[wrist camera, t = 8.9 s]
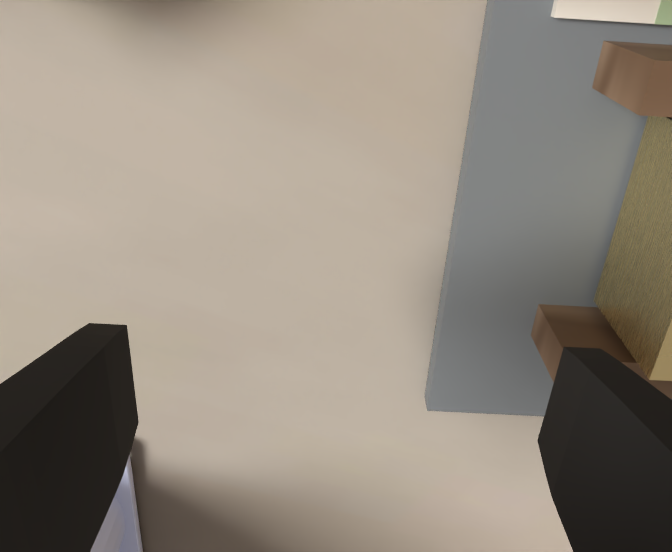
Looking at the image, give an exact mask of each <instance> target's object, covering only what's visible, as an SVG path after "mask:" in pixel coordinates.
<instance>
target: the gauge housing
mask: <svg viewBox="0 0 672 552" xmlns="http://www.w3.org/2000/svg"><path fill="white" fill-rule="evenodd" d="M551 17H554V18H567V19H583V20H599V21H615V22H631V23H647V24H660V25H672V0H554V3H553V8H552V12H551ZM592 88H593V89H595V90H596V91H598V92H600V93H602V94H603V95H605V96H607V97H608V98H610V99H612V100H614V101H615V102H617V103H619V104H620V105H622V106H624V107H626V108H627V109H629V110H631V111H632V112H634V113H636V114H637V115H640V116H657V117H672V45H665V44H649V43H633V42H617V41H603V45H602V49H601V53H600V57H599V61H598V65H597V69H596V73H595V77H594V81H593V85H592ZM531 337H532V339H533V341H534V343H535V345H536V347H537V349H538V351H539V353H540V356H541V358H542V360H543V362H544V364H545V366H546V368H547V370H548V372H549V374H550V376H551V378H552V380H553V382H554V380H555V376H556V373H557V369H558V366H559V362H560V358H561V355H562V351H563V348H564V347H582V348H600V349H602V350H604V351H605V352H607V353H608V354H610V355H611V356H613V357H614V358H616V359H617V360H619V361H620V362H621V363H623V364H624V365H626V366H627V367H628V368H630V369H631V370H633V371H634V372H635V373H637V374H638V375H639V376H641V377H642V378H643V379H645V380H646V381H647V382H649V383H650V384H651V385H653V386H654V387H655V388H657V389H658V390H659V391H661V392H662V393H663V394H665V395H666V396H667V397H669V398H670V399H672V381H662V380H649V379H648V377H647V376H646V375H645V373H644V372H643V370H642V369H641V368H640V366H639V365H638V363H637V362H636V360H635V359H634V358H633V356H632V355H631V353H630V352H629V350H628V349H627V348H626V346H625V345H624V343H623V342H622V341H621V339H620V338H619V336H618V335H617V333H616V332H615V331H614V329H613V328H612V326H611V325H610V323H609V322H608V321H607V319H606V318H605V316H604V315H603V314H602V312H601V311H600V309H599V308H598V307H584V306H565V305H546V304H538V308H537V312H536V316H535V320H534V324H533V328H532V332H531Z"/></svg>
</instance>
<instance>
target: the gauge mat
mask: <svg viewBox="0 0 672 552" xmlns="http://www.w3.org/2000/svg"><path fill="white" fill-rule="evenodd" d="M553 3H554V0H487V6H486V13H485V19H484V25H483V32H482V38H481V44H480V51H479V57H478V63H477V69H476V76H475V82H474V88H473V95H472V101H471V107H470V113H469V120H468V126H467V132H466V139H465V145H464V151H463V158H462V164H461V170H460V176H459V183H458V189H457V195H456V202H455V208H454V214H453V220H452V227H451V233H450V239H449V246H448V252H447V258H446V264H445V271H444V277H443V283H442V290H441V296H440V302H439V309H438V315H437V321H436V327H435V334H434V340H433V346H432V353H431V359H430V365H429V371H428V378H427V384H426V390H425V401H426V406H427V411H444V412H465V413H486V414H506V415H527V416H545V412H546V409H547V405H548V401H549V398H550V394H551V391H552V387H553V384H554V382H553V380H552V378H551V376H550V374H549V372H548V370H547V368H546V366H545V364H544V362H543V360H542V358H541V356H540V353H539V351H538V349H537V347H536V345H535V343H534V341H533V339H532V337H531V332H532V328H533V324H534V320H535V316H536V312H537V308H538V304H546V305H565V306H584V307H598V306H597V305H596V304H595V302H594V297H595V294H596V291H597V287H598V284H599V280H600V277H601V274H602V270H603V267H604V263H605V260H606V257H607V253H608V250H609V247H610V243H611V240H612V236H613V233H614V230H615V226H616V223H617V219H618V216H619V213H620V209H621V206H622V203H623V199H624V196H625V192H626V189H627V186H628V182H629V179H630V175H631V172H632V169H633V165H634V162H635V159H636V155H637V152H638V148H639V145H640V142H641V138H642V135H643V131H644V128H645V125H646V121H647V118H648V116H640V115H637V114H636V113H634V112H632V111H631V110H629V109H627V108H626V107H624V106H622V105H620V104H619V103H617V102H615V101H614V100H612V99H610V98H608V97H607V96H605V95H603V94H602V93H600V92H598V91H596V90H595V89H593V88H592V85H593V81H594V77H595V73H596V69H597V65H598V61H599V57H600V53H601V49H602V45H603V41H617V42H633V43H649V44H665V45H672V25H660V24H647V23H631V22H615V21H599V20H583V19H567V18H554V17H551V12H552V8H553ZM671 400H672V399H671Z"/></svg>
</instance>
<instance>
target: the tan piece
mask: <svg viewBox="0 0 672 552" xmlns="http://www.w3.org/2000/svg"><path fill="white" fill-rule="evenodd" d="M594 302H595V304H596V305H597V306H598V308H599V309H600V311H601V312H602V314H603V315H604V316H605V318H606V319H607V321H608V322H609V323H610V325H611V326H612V328H613V329H614V331H615V332H616V333H617V335H618V336H619V338H620V339H621V341H622V342H623V343H624V345H625V346H626V348H627V349H628V350H629V352H630V353H631V355H632V356H633V358H634V359H635V360H636V362H637V363H638V365H639V366H640V368H641V369H642V370H643V372H644V373H645V375H646V376H647V377H648V379H649V380H662V381H672V117H657V116H648V118H647V121H646V125H645V128H644V131H643V135H642V138H641V142H640V145H639V148H638V152H637V155H636V159H635V162H634V165H633V169H632V172H631V175H630V179H629V182H628V186H627V189H626V192H625V196H624V199H623V203H622V206H621V209H620V213H619V216H618V219H617V223H616V226H615V230H614V233H613V236H612V240H611V243H610V247H609V250H608V253H607V257H606V260H605V263H604V267H603V270H602V274H601V277H600V280H599V284H598V287H597V291H596V294H595V297H594Z"/></svg>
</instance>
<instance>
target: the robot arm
mask: <svg viewBox="0 0 672 552" xmlns="http://www.w3.org/2000/svg"><path fill="white" fill-rule="evenodd" d="M137 426H138V414H137V406H136V398H135V390H134V381H133V373H132V365H131V356H130V348H129V340H128V331H127V325H114V324H94V323H89V324H87V325H86V326H84V327H82V328H81V329H79V330H78V331H76V332H75V333H73V334H72V335H70V336H69V337H67V338H66V339H64V340H63V341H62V342H60V343H59V344H57V345H56V346H54V347H53V348H52V349H50V350H49V351H47V352H46V353H44V354H43V355H42V356H40V357H39V358H37V359H36V360H35V361H33V362H32V363H30V364H29V365H27V366H26V367H24V368H23V369H22V370H20V371H19V372H17V373H16V374H14V375H13V376H11V377H10V378H8V379H7V380H6V381H4V382H3V383H1V384H0V552H143V549H142V541H141V534H140V526H139V519H138V512H137V504H136V497H135V489H134V482H133V475H132V467H131V460H130V451H131V447H132V444H133V440H134V436H135V433H136V429H137ZM538 444H539V448H540V452H541V457H542V461H543V465H544V469H545V473H546V477H547V481H548V484H549V488H550V492H551V496H552V498H553V501H554V504H555V506H556V509H557V511H558V514H559V517H560V519H561V522H562V524H563V527H564V529H565V532H566V534H567V537H568V539H569V542H570V544H571V547H572V549H573V552H672V400H671V399H670V398H669V397H667V396H666V395H665V394H663V393H662V392H661V391H659V390H658V389H657V388H655V387H654V386H653V385H651V384H650V383H649V382H647V381H646V380H645V379H643V378H642V377H641V376H639V375H638V374H637V373H635V372H634V371H633V370H631V369H630V368H628V367H627V366H626V365H624V364H623V363H621V362H620V361H619V360H617V359H616V358H614V357H613V356H611V355H610V354H608V353H607V352H605V351H604V350H602V349H600V348H582V347H564V348H563V351H562V355H561V358H560V362H559V366H558V369H557V373H556V376H555V380H554V384H553V387H552V391H551V394H550V398H549V401H548V405H547V409H546V412H545V416H544V419H543V423H542V427H541V430H540V434H539V437H538Z"/></svg>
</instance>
